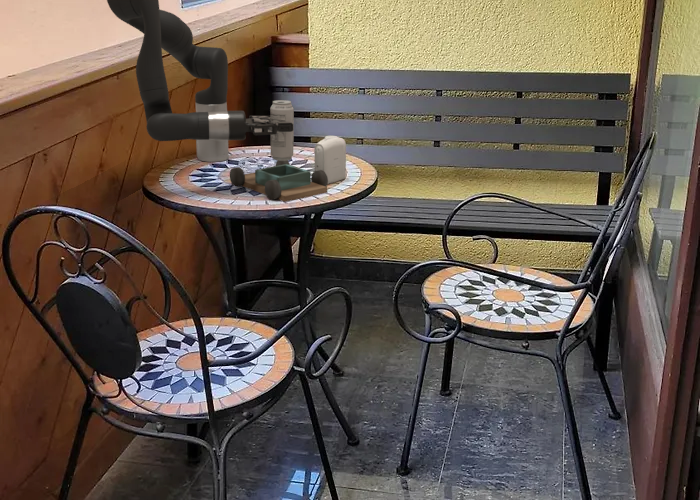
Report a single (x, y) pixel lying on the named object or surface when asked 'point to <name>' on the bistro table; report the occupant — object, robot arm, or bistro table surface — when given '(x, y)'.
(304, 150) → the bistro table surface
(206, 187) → the bistro table surface
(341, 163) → the photo printer
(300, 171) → the chassis
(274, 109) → the energy drink can
